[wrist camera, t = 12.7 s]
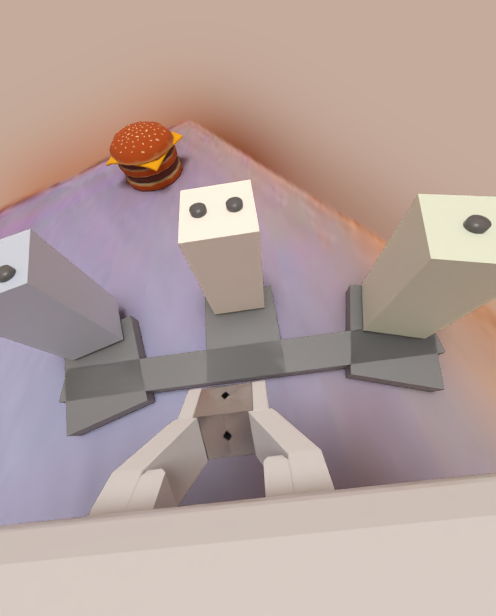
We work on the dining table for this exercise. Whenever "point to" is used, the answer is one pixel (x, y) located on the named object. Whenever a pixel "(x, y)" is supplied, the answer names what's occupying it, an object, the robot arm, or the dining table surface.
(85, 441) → the dining table surface
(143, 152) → the hamburger
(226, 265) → the key two dots
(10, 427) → the dining table surface
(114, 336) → the key three dots
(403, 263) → the key one dot
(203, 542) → the robot arm
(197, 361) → the grey flat piece
